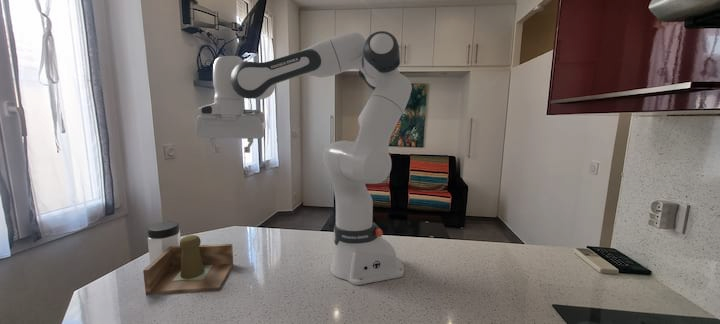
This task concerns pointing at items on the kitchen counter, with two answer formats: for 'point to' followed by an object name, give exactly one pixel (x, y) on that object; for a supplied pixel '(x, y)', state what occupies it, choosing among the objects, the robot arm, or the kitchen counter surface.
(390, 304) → the kitchen counter surface
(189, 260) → the olive pepper mill
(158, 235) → the jar
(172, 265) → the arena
